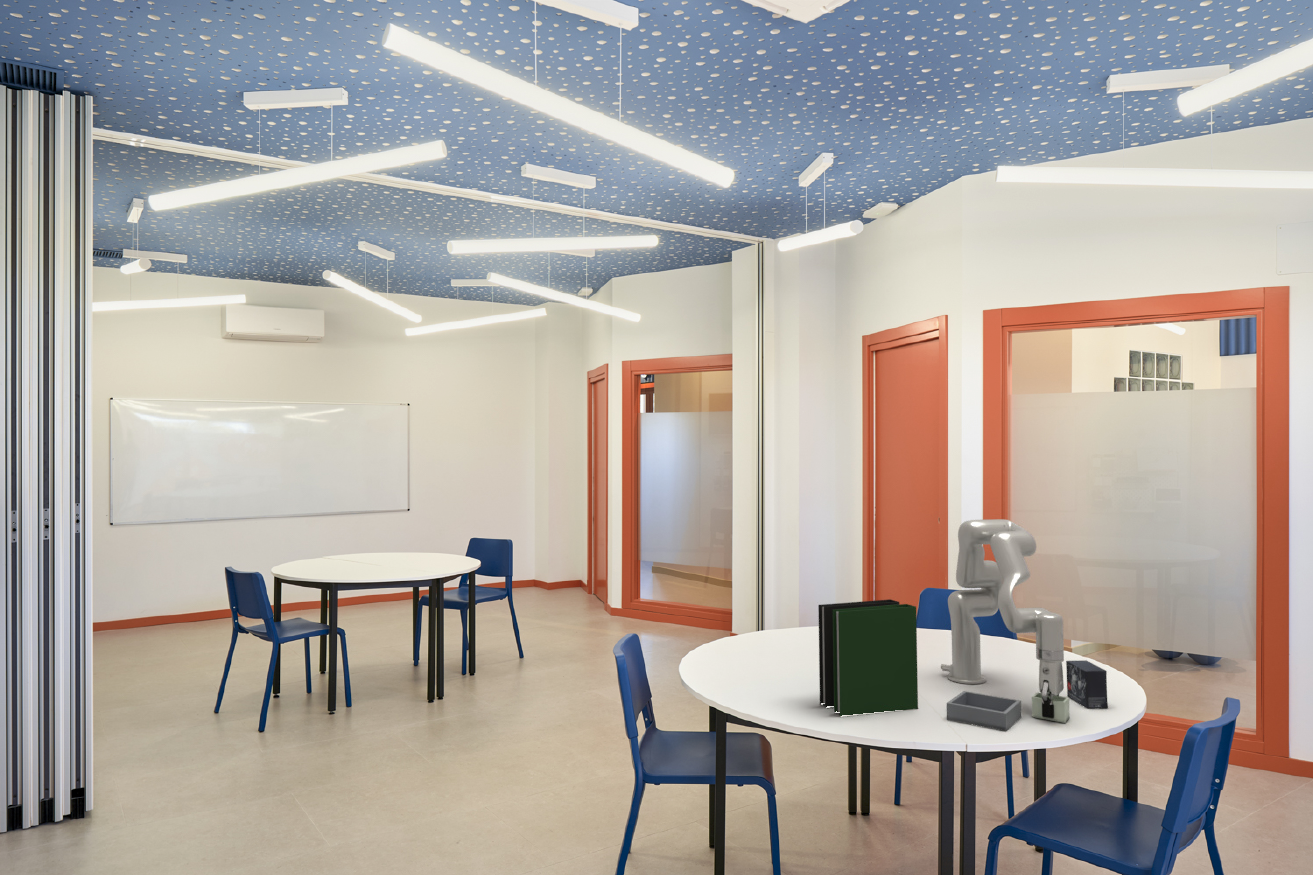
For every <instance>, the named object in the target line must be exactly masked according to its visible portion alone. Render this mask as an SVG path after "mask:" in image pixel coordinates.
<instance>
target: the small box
mask: <svg viewBox="0 0 1313 875" xmlns="http://www.w3.org/2000/svg"><path fill="white" fill-rule="evenodd" d="M1065 664H1066V690H1067V691H1066V693H1067V694H1066V695H1067V696H1066V697H1068V698H1069V699H1071V700H1072V701H1074V702H1075V703H1077V704H1079V705H1080V704H1081V705H1080V706H1081V707H1083V706H1084V708H1085V709H1087V710H1089V709H1090V710H1091V709H1093V710H1094V709H1095V710H1096V709H1097V710H1098V709H1102V710H1103V709H1107V710H1108V709H1109V703H1108V687H1107V683H1108V682H1107V675H1108V674H1107V672H1108V671H1107V670H1105V669H1103V668H1102V667H1100V666H1098V665H1096V664H1094V663H1093V662H1090V661H1088V660H1087V659H1086V660H1084V659H1082V660H1066V661H1065Z"/></svg>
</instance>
